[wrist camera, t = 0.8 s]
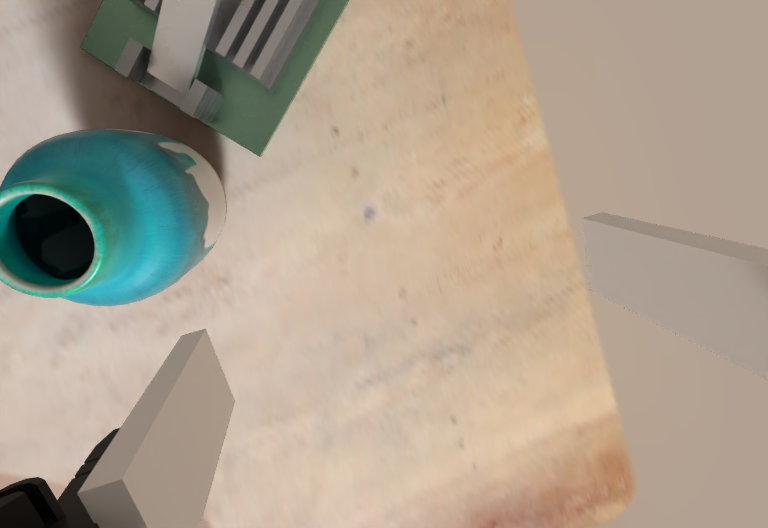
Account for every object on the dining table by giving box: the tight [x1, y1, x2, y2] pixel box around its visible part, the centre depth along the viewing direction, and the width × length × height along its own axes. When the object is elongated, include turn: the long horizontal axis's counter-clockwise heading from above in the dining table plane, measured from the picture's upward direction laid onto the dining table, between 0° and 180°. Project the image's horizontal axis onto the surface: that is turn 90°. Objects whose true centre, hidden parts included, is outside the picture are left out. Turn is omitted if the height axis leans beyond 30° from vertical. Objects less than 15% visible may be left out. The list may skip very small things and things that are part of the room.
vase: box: [0, 129, 227, 306], centre depth 29 cm, size 11×11×19 cm
